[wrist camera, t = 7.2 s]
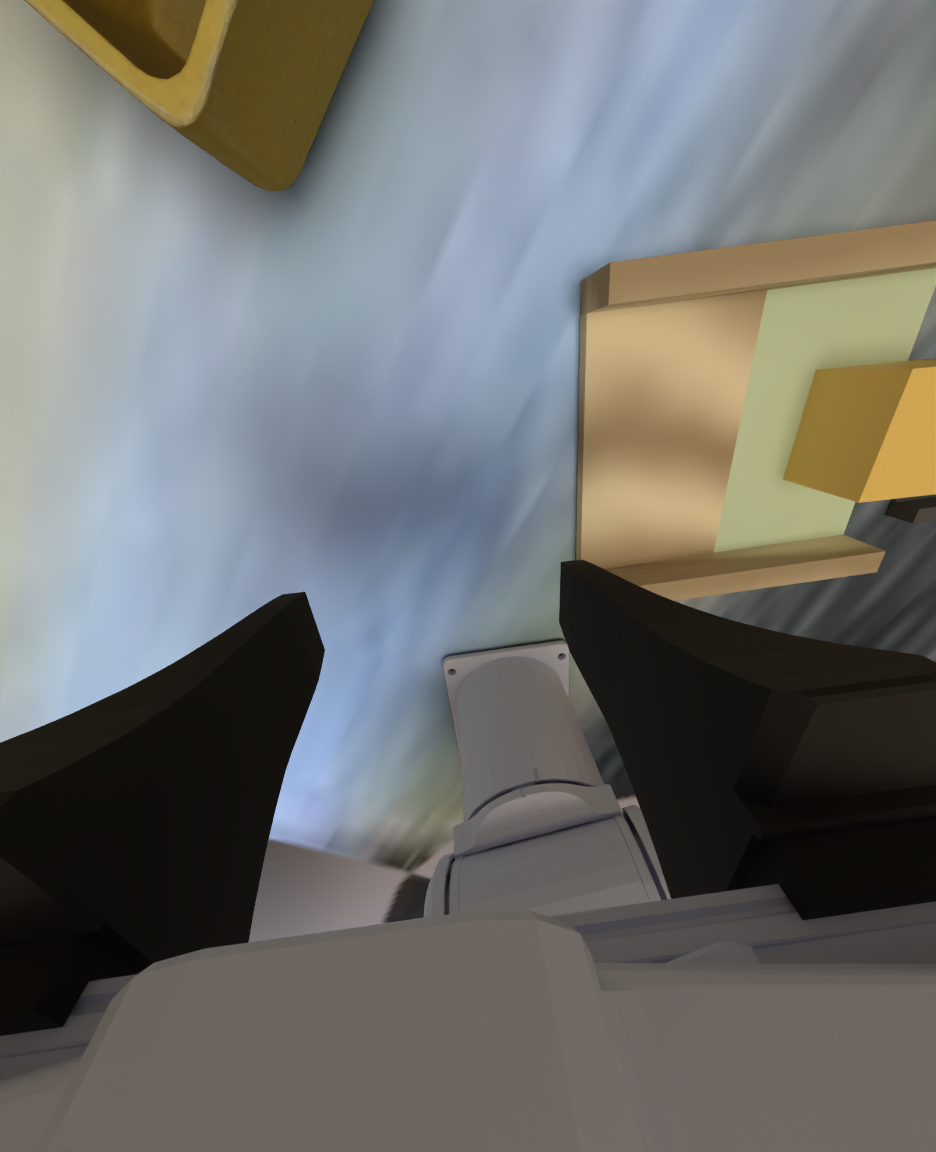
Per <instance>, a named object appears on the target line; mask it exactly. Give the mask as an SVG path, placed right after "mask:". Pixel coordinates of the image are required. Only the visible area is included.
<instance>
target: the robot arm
mask: <svg viewBox="0 0 936 1152" xmlns="http://www.w3.org/2000/svg"><path fill="white" fill-rule="evenodd" d="M559 623H560V625H561V628H562V631H563V634H564V637H565V640H566V642H565V641H553V642H546V643H539V644H532V645H525V646H518V647H511V648H504V649H497V650H490V651H483V652H476V653H469V654H462V655H455V656H449V657H446V658H445V659H444V660H443V669H444V675H445V680H446V685H447V690H448V695H449V701H450V706H451V711H452V716H453V721H454V727H455V732H456V737H457V742H458V748H459V753H460V767H461V782H462V797H463V812H464V823H462V824H459V825H456V826H454V827H453V837H454V853H452V854H448V855H444V856H443V857H442V858H441V859H440V860H439V862H438V864H437V866H436V868H435V872H434V874H433V876H432V878H431V881H430V883H429V886H428V890H427V894H426V900H425V908H424V918H420V919H413V920H406V921H399V922H392V923H385V924H377V925H370V926H364V927H356V928H349V929H342V930H335V931H327V932H320V933H313V934H306V935H300V936H292V937H285V938H278V939H270V940H263V941H256V942H249V943H248V941H249V935H250V929H251V924H252V918H253V912H254V906H255V901H256V896H257V891H258V886H259V881H260V877H261V871H262V867H263V861H264V856H265V852H266V848H267V843H268V839H269V835H270V830H271V826H272V822H273V817H274V813H275V809H276V805H277V801H278V797H279V794H280V790H281V786H282V782H283V778H284V774H285V771H286V768H287V765H288V762H289V759H290V756H291V753H292V750H293V748H294V745H295V742H296V740H297V737H298V734H299V732H300V729H301V726H302V724H303V721H304V719H305V716H306V713H307V711H308V708H309V705H310V703H311V700H312V697H313V694H314V692H315V689H316V686H317V683H318V680H319V676H320V672H321V667H322V662H323V657H324V652H325V649H324V646H323V643H322V640H321V637H320V634H319V631H318V628H317V625H316V623H315V620H314V617H313V614H312V611H311V608H310V605H309V602H308V599H307V596H306V593H305V592H300V593H291V594H283V595H281V596H279V597H277V598H275V599H273V600H272V601H270V602H268V603H267V604H265V605H264V606H262V607H260V608H259V609H257V610H256V611H254V612H253V613H251V614H250V615H248V616H247V617H245V618H244V619H242V620H241V621H239V622H238V623H236V624H235V625H233V626H232V627H230V628H229V629H227V630H226V631H224V632H223V633H221V634H220V635H218V636H217V637H215V638H213V639H212V640H210V641H209V642H207V643H205V644H204V645H202V646H201V647H199V648H197V649H196V650H194V651H193V652H191V653H189V654H188V655H186V656H185V657H183V658H181V659H180V660H178V661H176V662H174V663H173V664H171V665H169V666H167V667H166V668H164V669H162V670H160V671H158V672H156V673H155V674H153V675H151V676H149V677H147V678H145V679H143V680H141V681H139V682H138V683H136V684H134V685H132V686H130V687H128V688H126V689H124V690H122V691H119V692H117V693H115V694H113V695H111V696H109V697H107V698H104V699H102V700H100V701H98V702H96V703H94V704H91V705H89V706H87V707H85V708H83V709H81V710H79V711H76V712H74V713H72V714H70V715H68V716H65V717H63V718H61V719H58V720H56V721H53V722H51V723H49V724H46V725H44V726H41V727H39V728H37V729H34V730H32V731H29V732H27V733H24V734H21V735H19V736H16V737H14V738H11V739H9V740H6V741H4V742H1V743H0V1152H936V662H934V661H932V660H930V659H928V658H926V657H924V656H921V655H915V654H908V653H901V652H894V651H886V650H879V649H872V648H865V647H858V646H850V645H843V644H837V643H831V642H826V641H821V640H815V639H810V638H805V637H799V636H794V635H790V634H785V633H780V632H776V631H771V630H767V629H763V628H759V627H755V626H751V625H748V624H744V623H740V622H736V621H732V620H729V619H725V618H722V617H719V616H715V615H712V614H709V613H706V612H703V611H700V610H697V609H694V608H691V607H688V606H686V605H683V604H680V603H678V602H675V601H673V600H670V599H668V598H665V597H663V596H660V595H658V594H656V593H653V592H651V591H649V590H647V589H644V588H642V587H640V586H638V585H636V584H633V583H631V582H629V581H627V580H625V579H623V578H621V577H619V576H617V575H615V574H613V573H611V572H609V571H607V570H605V569H603V568H601V567H599V566H597V565H594V564H592V563H590V562H588V561H585V560H575V561H566V562H561V577H560V612H559ZM569 651H570V653H571V655H572V657H573V659H574V660H575V662H576V664H577V666H578V668H579V670H580V672H581V674H582V676H583V678H584V680H585V681H586V683H587V685H588V687H589V689H590V691H591V693H592V695H593V697H594V698H595V700H596V702H597V704H598V706H599V708H600V710H601V712H602V714H603V716H604V718H605V720H606V722H607V724H608V726H609V728H610V731H611V733H612V735H613V738H614V740H615V743H616V745H617V748H618V751H619V753H620V756H621V758H622V761H623V763H624V766H625V768H626V771H627V774H628V776H629V779H630V782H631V784H632V787H633V790H634V792H635V795H636V798H637V800H638V803H639V805H640V808H638V807H637V806H635V805H632V806H628V807H625V808H622V810H623V814H622V812H621V809H620V807H619V804H618V802H617V800H616V797H615V795H614V793H613V790H612V788H611V786H610V785H608V784H607V785H604V783H603V781H602V778H601V776H600V774H599V771H598V769H597V766H596V764H595V761H594V759H593V757H592V754H591V752H590V749H589V747H588V744H587V742H586V740H585V737H584V735H583V732H582V730H581V727H580V725H579V723H578V720H577V718H576V715H575V713H574V711H573V708H572V706H571V703H570V701H569ZM561 653H564V654H563V655H561V656H558V655H559V654H561ZM450 669H454V671H449V670H450Z"/></svg>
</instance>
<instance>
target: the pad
mask: <svg viewBox="0 0 936 1152" xmlns="http://www.w3.org/2000/svg"><path fill="white" fill-rule="evenodd" d="M935 286H936V268H932V269H924V270H916V271H909V272H901V273H893V274H886V275H878V276H870V277H863V278H855V279H848V280H840V281H832V282H825V283H817V284H809V285H802V286H794V287H787V288H779V289H771V290H767V294H766V298H765V303H764V308H763V313H762V318H761V323H760V328H759V333H758V338H757V343H756V347H755V352H754V357H753V362H752V367H751V372H750V377H749V382H748V387H747V391H746V396H745V401H744V406H743V411H742V416H741V421H740V426H739V431H738V435H737V440H736V445H735V450H734V455H733V460H732V465H731V470H730V475H729V479H728V484H727V489H726V494H725V499H724V504H723V509H722V514H721V519H720V523H719V528H718V533H717V538H716V543H715V548H714V553H716V552H723V551H730V550H737V549H744V548H751V547H759V546H766V545H773V544H780V543H787V542H794V541H802V540H809V539H816V538H823V537H830V536H837V535H843V534H844V531H845V529H846V526H847V523H848V521H849V518H850V515H851V512H852V510H853V507H854V504H855V501H851V500H848V499H845V498H842V497H838V496H835V495H832V494H828V493H825V492H822V491H818V490H815V489H812V488H809V487H805V486H802V485H799V484H795V483H792V482H789V481H786V480H783V478H784V474H785V471H786V468H787V465H788V461H789V458H790V455H791V451H792V448H793V445H794V441H795V438H796V435H797V431H798V428H799V425H800V421H801V418H802V415H803V411H804V408H805V405H806V402H807V398H808V395H809V392H810V388H811V385H812V382H813V378H814V375H815V372H816V370H820V369H830V368H840V367H850V366H860V365H871V364H881V363H891V362H901V361H908V359H909V356H910V353H911V351H912V348H913V345H914V343H915V340H916V337H917V335H918V332H919V329H920V327H921V324H922V321H923V318H924V316H925V313H926V310H927V308H928V305H929V302H930V300H931V297H932V294H933V292H934V289H935Z"/></svg>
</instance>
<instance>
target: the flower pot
mask: <svg viewBox="0 0 936 1152" xmlns="http://www.w3.org/2000/svg"><path fill="white" fill-rule="evenodd" d="M25 1H26V2H27V3H28V4H29V5H31V6H32V7H33V8H34V9H35V10H36V11H37V12H38V13H40V14H41V15H42V16H43V17H44V18H45V19H46V20H47V21H48V22H50V23H51V24H52V25H53V26H54V27H55V28H56V29H57V30H59V31H60V32H61V33H62V34H63V35H64V36H65V37H66V38H68V39H69V40H70V41H71V42H72V43H73V44H74V45H76V46H77V47H78V48H79V49H80V50H81V51H82V52H83V53H85V54H86V55H87V56H88V57H89V58H90V59H92V60H93V61H94V62H95V63H96V64H97V65H98V66H100V67H101V68H102V69H103V70H104V71H105V72H106V73H108V74H109V75H110V76H111V77H112V78H113V79H115V80H116V81H117V82H118V83H119V84H120V85H121V86H123V87H124V88H125V89H126V90H127V91H128V92H130V93H131V94H132V95H133V96H134V97H135V98H137V99H138V100H139V101H140V102H141V103H143V104H144V105H145V106H146V107H148V108H149V109H150V110H151V111H152V112H154V113H155V114H156V115H157V116H158V117H160V118H161V119H162V120H163V121H165V122H166V123H167V124H169V125H170V126H171V127H173V128H174V129H175V130H177V131H178V132H179V133H181V134H182V135H183V136H184V137H186V138H187V139H189V140H190V141H192V142H193V143H195V144H196V145H197V146H199V147H200V148H202V149H203V150H205V151H206V152H207V153H209V154H210V155H212V156H213V157H215V158H216V159H217V160H219V161H220V162H222V163H223V164H224V165H226V166H227V167H229V168H230V169H232V170H233V171H235V172H236V173H238V174H239V175H241V176H242V177H243V178H245V179H246V180H248V181H249V182H251V183H253V184H254V185H256V186H258V187H260V188H262V189H264V190H268V191H282V190H285V189H287V188H288V187H289V186H291V185H292V184H293V183H294V181H295V180H296V179H297V177H298V176H299V174H300V172H301V169H302V167H303V165H304V163H305V160H306V158H307V156H308V153H309V151H310V148H311V146H312V143H313V141H314V139H315V136H316V134H317V132H318V129H319V127H320V125H321V122H322V120H323V117H324V115H325V113H326V110H327V108H328V106H329V103H330V101H331V99H332V96H333V94H334V92H335V89H336V87H337V85H338V82H339V80H340V78H341V75H342V73H343V71H344V68H345V66H346V64H347V61H348V59H349V57H350V54H351V52H352V50H353V47H354V45H355V43H356V40H357V38H358V36H359V33H360V31H361V29H362V26H363V24H364V22H365V19H366V17H367V15H368V13H369V10H370V8H371V6H372V4H373V1H374V0H25Z"/></svg>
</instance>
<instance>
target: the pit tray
mask: <svg viewBox="0 0 936 1152" xmlns="http://www.w3.org/2000/svg"><path fill="white" fill-rule="evenodd" d="M886 515H888V516H891V517H894V518H897V519H901V520H904V521H907V522H910V523H919V522H926V521H933V520H936V494H934V495H925V496H915V497H906V498H897V499H892V502H891V504H890V506H889V509H888V511H887V514H886Z"/></svg>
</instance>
